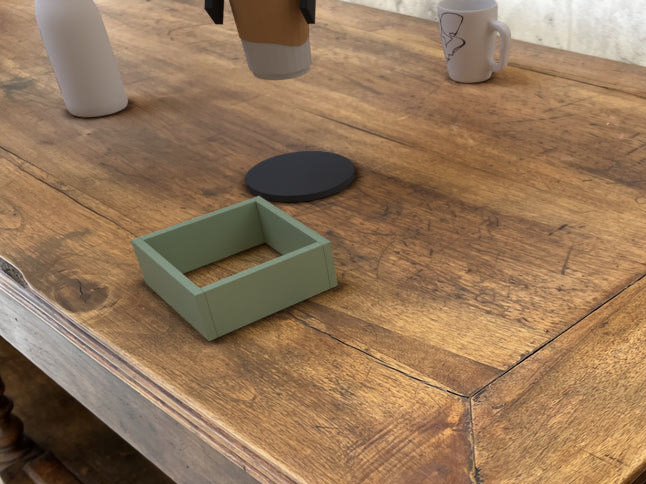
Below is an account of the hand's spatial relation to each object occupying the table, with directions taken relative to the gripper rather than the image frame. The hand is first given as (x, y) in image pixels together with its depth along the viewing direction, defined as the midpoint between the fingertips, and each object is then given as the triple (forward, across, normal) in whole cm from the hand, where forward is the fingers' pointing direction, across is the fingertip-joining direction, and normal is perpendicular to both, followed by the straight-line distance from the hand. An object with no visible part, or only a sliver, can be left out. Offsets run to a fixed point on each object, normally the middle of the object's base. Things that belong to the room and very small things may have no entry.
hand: (260, 16), depth 76 cm
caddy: (+26, 0, +1) cm, 26 cm away
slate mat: (+10, 0, -15) cm, 18 cm away
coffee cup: (+2, 0, -7) cm, 7 cm away
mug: (-14, -18, -40) cm, 46 cm away
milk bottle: (-5, +33, -31) cm, 46 cm away
